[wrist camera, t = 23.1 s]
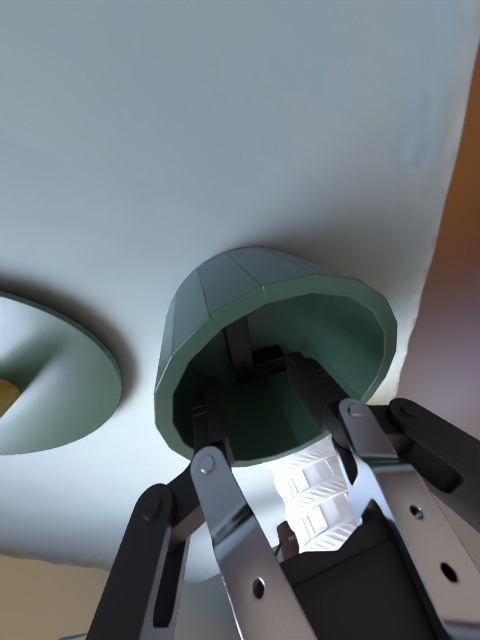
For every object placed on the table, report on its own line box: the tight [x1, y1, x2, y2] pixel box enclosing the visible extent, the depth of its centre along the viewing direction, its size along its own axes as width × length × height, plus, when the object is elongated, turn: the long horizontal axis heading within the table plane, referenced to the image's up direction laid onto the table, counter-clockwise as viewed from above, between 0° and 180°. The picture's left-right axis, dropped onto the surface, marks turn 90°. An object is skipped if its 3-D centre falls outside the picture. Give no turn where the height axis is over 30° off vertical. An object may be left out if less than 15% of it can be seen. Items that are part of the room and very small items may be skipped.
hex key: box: [223, 315, 286, 386], centre depth 15 cm, size 8×5×2 cm, turn 8°
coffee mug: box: [275, 521, 300, 561], centre depth 46 cm, size 12×9×10 cm
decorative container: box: [263, 434, 357, 554], centre depth 21 cm, size 12×12×18 cm
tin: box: [154, 247, 397, 467], centre depth 14 cm, size 14×14×8 cm
